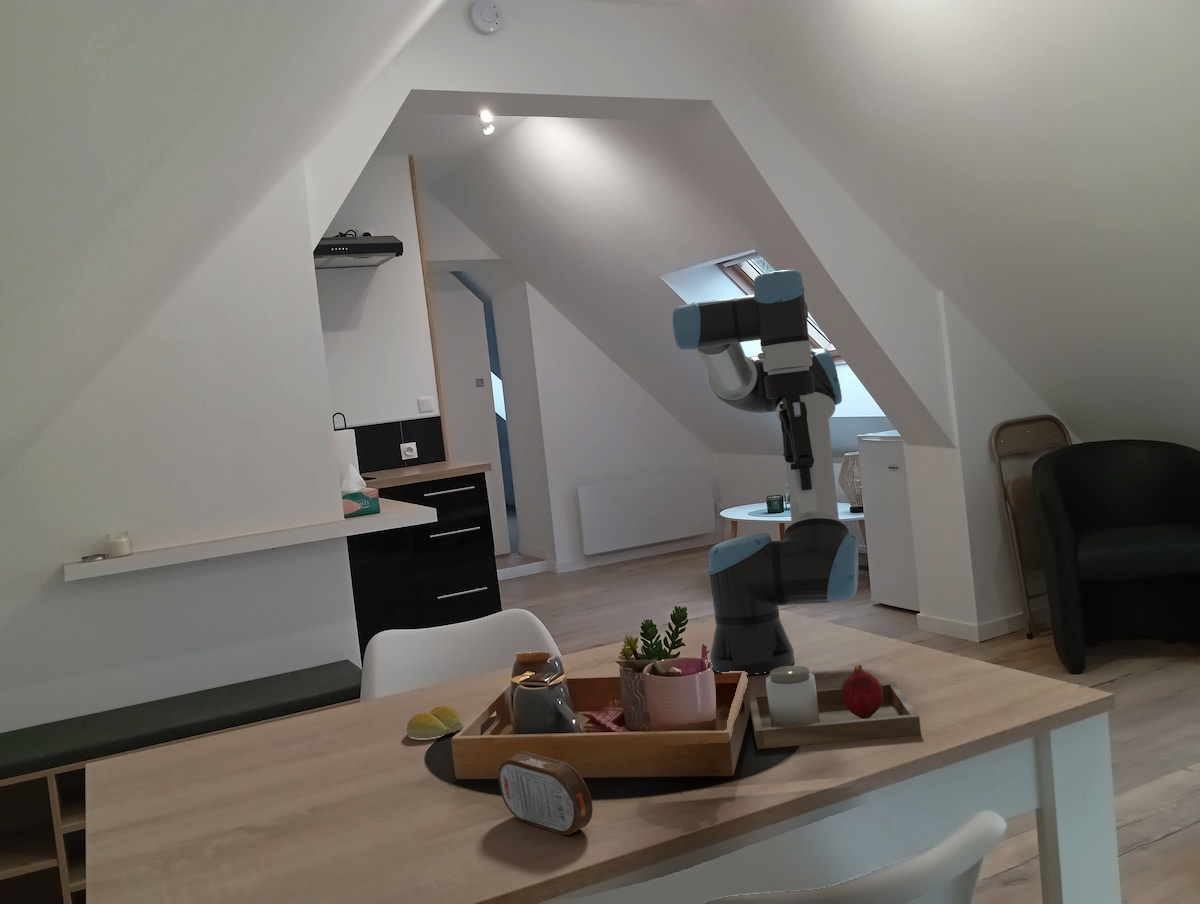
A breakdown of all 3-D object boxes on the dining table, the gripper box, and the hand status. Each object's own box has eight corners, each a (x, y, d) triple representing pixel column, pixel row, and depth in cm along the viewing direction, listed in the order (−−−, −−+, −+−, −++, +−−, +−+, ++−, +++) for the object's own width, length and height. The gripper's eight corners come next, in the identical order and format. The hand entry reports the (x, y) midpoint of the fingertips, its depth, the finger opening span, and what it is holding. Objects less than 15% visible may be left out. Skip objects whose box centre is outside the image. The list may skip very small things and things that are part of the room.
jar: (769, 719, 148) (763, 667, 147) (816, 715, 147) (810, 662, 147) (773, 736, 141) (766, 680, 140) (823, 731, 140) (816, 675, 140)
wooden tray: (751, 718, 152) (748, 695, 152) (897, 705, 150) (895, 682, 150) (758, 755, 136) (755, 730, 136) (921, 741, 134) (919, 716, 134)
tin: (598, 834, 118) (589, 765, 118) (579, 845, 116) (569, 774, 115) (517, 808, 129) (509, 744, 128) (498, 817, 127) (490, 752, 126)
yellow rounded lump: (400, 736, 166) (397, 712, 166) (449, 721, 171) (446, 698, 170) (420, 747, 159) (416, 722, 159) (470, 731, 164) (467, 707, 164)
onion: (890, 723, 139) (882, 667, 139) (849, 728, 140) (841, 672, 140) (881, 710, 145) (873, 657, 145) (841, 716, 146) (834, 662, 145)
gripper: (758, 376, 168) (772, 500, 169) (770, 372, 143) (786, 519, 144) (803, 370, 167) (817, 495, 168) (822, 366, 142) (839, 513, 143)
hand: (803, 506), depth 156 cm, fingers open, 13 cm apart
